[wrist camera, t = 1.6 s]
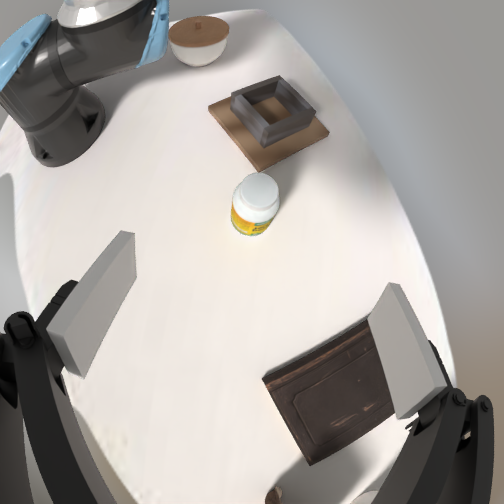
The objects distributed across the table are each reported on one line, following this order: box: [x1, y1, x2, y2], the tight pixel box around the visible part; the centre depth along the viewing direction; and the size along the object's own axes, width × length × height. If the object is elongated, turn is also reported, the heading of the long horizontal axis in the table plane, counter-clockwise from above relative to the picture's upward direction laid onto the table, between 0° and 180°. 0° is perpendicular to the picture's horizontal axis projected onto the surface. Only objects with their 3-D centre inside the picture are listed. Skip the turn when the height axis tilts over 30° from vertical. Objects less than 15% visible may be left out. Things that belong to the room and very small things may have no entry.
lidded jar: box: [168, 16, 229, 67], centre depth 38 cm, size 11×11×9 cm
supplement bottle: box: [231, 173, 280, 236], centre depth 33 cm, size 5×5×10 cm
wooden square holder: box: [208, 75, 329, 172], centre depth 38 cm, size 14×14×5 cm
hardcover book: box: [262, 320, 395, 466], centre depth 34 cm, size 16×23×2 cm
